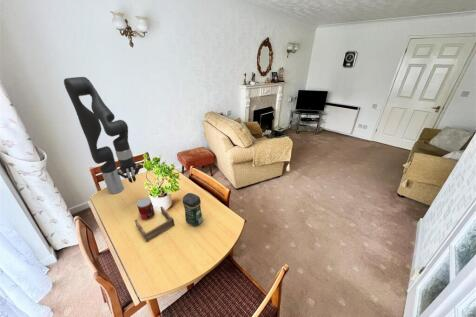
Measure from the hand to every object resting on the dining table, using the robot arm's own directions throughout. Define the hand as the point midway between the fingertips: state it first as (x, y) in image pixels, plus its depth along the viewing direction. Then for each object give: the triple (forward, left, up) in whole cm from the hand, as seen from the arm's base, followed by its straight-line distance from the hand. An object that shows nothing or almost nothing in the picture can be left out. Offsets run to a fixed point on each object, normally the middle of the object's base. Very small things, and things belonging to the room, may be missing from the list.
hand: (132, 181), depth 117 cm
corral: (+23, 0, -19) cm, 30 cm away
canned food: (+12, 0, -19) cm, 23 cm away
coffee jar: (+35, +18, -19) cm, 44 cm away
